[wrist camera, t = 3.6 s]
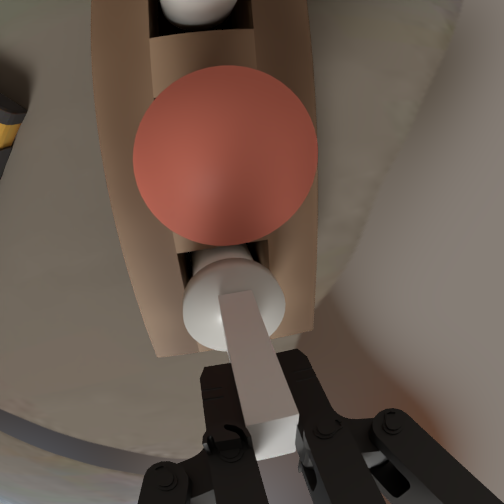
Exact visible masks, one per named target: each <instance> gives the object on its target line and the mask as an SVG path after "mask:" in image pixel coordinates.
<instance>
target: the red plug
mask: <svg viewBox="0 0 504 504" xmlns="http://www.w3.org/2000/svg"><path fill="white" fill-rule="evenodd" d="M317 162H318V145H317V137H316V133H315V128H314V126H313V123H312V120H311V118H310V116H309V114H308V112H307V110H306V108H305V106H304V105H303V104H302V102H301V101H300V99H299V98H298V97H297V96H296V95H295V94H294V93H293V92H292V91H291V90H290V89H289V88H288V87H287V86H286V85H284V84H283V83H282V82H281V81H279V80H277V79H276V78H274V77H272V76H271V75H268V74H266V73H264V72H261V71H259V70H255V69H252V68H248V67H242V66H234V65H223V66H214V67H208V68H204V69H201V70H197V71H194V72H192V73H190V74H187V75H185V76H183V77H181V78H180V79H178V80H177V81H175V82H173V83H172V84H171V85H169V86H168V87H167V88H166V89H165V90H163V91H162V92H161V93H160V94H159V95H158V96H157V98H156V99H155V100H154V101H153V102H152V104H151V105H150V106H149V108H148V109H147V111H146V112H145V114H144V116H143V118H142V120H141V122H140V125H139V127H138V130H137V133H136V137H135V142H134V148H133V168H134V175H135V179H136V183H137V186H138V189H139V191H140V194H141V196H142V198H143V200H144V202H145V203H146V205H147V207H148V208H149V209H150V211H151V212H152V213H153V215H154V216H155V217H156V218H157V219H158V220H159V221H160V222H161V223H162V224H163V225H165V226H166V227H167V228H169V229H170V230H171V231H173V232H175V233H176V234H178V235H180V236H182V237H184V238H186V239H189V240H191V241H194V242H198V243H202V244H207V245H214V246H230V245H239V244H243V243H248V242H251V241H254V240H257V239H259V238H262V237H264V236H266V235H268V234H270V233H271V232H273V231H274V230H276V229H278V228H279V227H280V226H282V225H283V224H284V223H285V222H287V221H288V220H289V219H290V218H291V217H292V216H293V215H294V214H295V212H296V211H297V210H298V209H299V207H300V206H301V205H302V203H303V202H304V200H305V198H306V197H307V195H308V193H309V191H310V188H311V186H312V184H313V180H314V177H315V174H316V168H317Z"/></svg>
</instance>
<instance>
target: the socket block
mask: <svg viewBox="0 0 504 504" xmlns="http://www.w3.org/2000/svg"><path fill="white" fill-rule="evenodd" d="M159 1H160V0H92V1H91V57H92V76H93V89H94V100H95V110H96V119H97V127H98V134H99V141H100V148H101V154H102V161H103V166H104V172H105V177H106V183H107V188H108V193H109V198H110V202H111V207H112V211H113V216H114V220H115V224H116V229H117V233H118V237H119V241H120V244H121V248H122V252H123V256H124V259H125V263H126V266H127V270H128V273H129V277H130V280H131V283H132V287H133V290H134V293H135V296H136V299H137V302H138V305H139V308H140V311H141V314H142V317H143V320H144V323H145V326H146V329H147V332H148V334H149V337H150V340H151V342H152V345H153V348H154V350H155V353H156V356H157V358H160V357H168V356H176V355H183V354H190V353H197V352H204V351H210V350H214V349H211V348H208V347H206V346H204V345H202V344H200V343H199V342H197V341H196V340H195V339H194V338H193V337H192V336H191V335H190V334H189V332H188V331H187V329H186V327H185V324H184V320H183V294H184V291H185V288H186V286H187V284H188V282H189V281H190V279H191V278H192V277H193V273H191V274H189V269H188V264H187V258H186V253H185V252H190V251H196V250H203V249H209V248H216V247H222V246H214V245H207V244H202V243H198V242H194V241H191V240H189V239H186V238H184V237H182V236H180V235H178V234H176V233H175V232H173V231H171V230H170V229H169V228H167V227H166V226H165V225H163V224H162V223H161V222H160V221H159V220H158V219H157V218H156V217H155V216H154V215H153V213H152V212H151V211H150V209H149V208H148V207H147V205H146V203H145V202H144V200H143V198H142V196H141V194H140V191H139V189H138V186H137V183H136V179H135V175H134V168H133V148H134V142H135V137H136V133H137V130H138V127H139V125H140V122H141V120H142V118H143V116H144V114H145V112H146V111H147V109H148V108H149V106H150V105H151V104H152V102H153V101H154V100H155V99H156V98H157V96H158V95H159V94H160V93H161V92H162V91H163V90H165V89H166V88H167V87H168V86H169V85H171V84H172V83H173V82H175V81H177V80H178V79H180V78H181V77H183V76H185V75H187V74H190V73H192V72H194V71H197V70H201V69H204V68H208V67H214V66H223V65H234V66H242V67H248V68H252V69H255V70H259V71H261V72H264V73H266V74H268V75H271V76H272V77H274V78H276V79H277V80H279V81H281V82H282V83H283V84H284V85H286V86H287V87H288V88H289V89H290V90H291V91H292V92H293V93H294V94H295V95H296V96H297V97H298V98H299V99H300V101H301V102H302V104H303V105H304V106H305V108H306V110H307V112H308V114H309V116H310V118H311V120H312V123H313V126H314V128H315V133H316V137H317V125H316V103H315V86H314V71H313V58H312V46H311V35H310V26H309V16H308V8H307V0H237V2H236V4H235V6H234V8H233V10H232V12H231V25H232V29H230V30H213V31H201V32H191V33H182V34H174V35H167V36H161V37H159V23H158V2H159ZM317 228H318V162H317V168H316V174H315V177H314V180H313V184H312V186H311V188H310V191H309V193H308V195H307V197H306V198H305V200H304V202H303V203H302V205H301V206H300V207H299V209H298V210H297V211H296V212H295V214H294V215H293V216H292V217H291V218H290V219H289V220H288V221H287V222H285V223H284V224H283V225H282V226H280V227H279V228H278V229H276V230H274V231H273V232H271V233H270V234H268V235H266V236H264V237H262V238H259V239H257V240H254V241H251V242H249V250H250V254H251V256H252V258H253V260H254V261H255V262H258V263H260V264H262V265H263V266H265V267H266V268H267V269H268V270H269V271H270V272H271V273H272V274H273V275H274V277H275V278H276V280H277V282H278V284H279V286H280V288H281V290H282V292H283V294H284V298H285V313H284V316H283V319H282V321H281V323H280V325H279V326H278V328H277V329H276V330H275V332H274V333H273V334H272V335H271V336H269V337H270V339H275V338H280V337H284V336H289V335H294V334H298V333H302V332H307V331H311V330H313V322H314V321H313V320H314V306H315V287H316V264H317Z"/></svg>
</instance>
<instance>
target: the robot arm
mask: <svg viewBox="0 0 504 504" xmlns="http://www.w3.org/2000/svg"><path fill="white" fill-rule="evenodd" d="M218 301H219V307H220V313H221V319H222V325H223V331H224V337H225V342H226V347H227V352H228V357H229V361H230V363H227V364H221V365H215V366H208V367H204V369H203V372H202V374H201V377H200V383H201V391H202V400H203V408H204V416H205V423H206V432H205V434H204V435H203V441H202V444H203V446H204V448H203V450H202V451H201V452H200V453H199V454H198V455H196V456H194V457H192V458H190V459H188V460H185V461H183V462H180V463H178V464H176V463H173V462H170V461H166V462H159V463H156V464H154V465H152V466H151V467H150V468H149V469H148V470H147V472H146V474H145V476H144V479H143V483H142V487H141V492H140V496H139V500H138V504H269V503H268V499H267V496H266V493H265V489H264V485H263V482H262V478H261V475H260V471H259V467H258V464H257V460H262V459H267V458H271V457H276V456H280V455H284V454H288V453H292V452H295V450H296V449H297V452H298V454H299V457H300V459H299V465H298V472H299V473H300V472H302V473H303V476H304V479H305V481H306V484H307V487H308V490H309V492H310V495H311V498H312V501H313V504H386V503H385V501H384V498H383V496H382V495H381V493H382V494H383V495H384V496H385V497H386V498H387V499H388V501H389V502H390V503H391V504H504V503H503V502H502V501H501V500H500V499H498V498H497V497H496V496H495V495H494V494H493V493H492V492H491V491H490V490H489V489H487V488H486V487H485V486H484V485H483V484H482V483H481V482H480V481H479V480H478V479H476V478H475V477H474V476H473V475H472V474H471V473H470V472H469V471H468V470H467V469H466V468H465V467H463V466H462V465H461V464H460V463H459V462H458V461H457V460H456V459H455V458H454V457H453V456H451V455H450V454H449V453H448V452H447V451H446V450H445V449H444V448H443V447H442V446H441V445H440V444H439V443H437V442H436V441H435V440H434V439H433V438H432V437H431V436H430V435H429V434H428V433H427V432H426V431H425V430H423V428H421V427H420V426H419V425H418V424H417V423H416V422H415V421H414V420H413V419H412V418H411V417H410V416H409V415H408V414H406V413H405V412H403V411H402V410H399V409H394V408H391V409H385V410H383V411H381V412H379V413H378V414H377V415H376V416H375V418H368V419H348V418H345V417H342V416H340V415H339V414H337V413H336V412H335V411H334V410H333V408H332V407H331V405H330V403H329V401H328V399H327V397H326V394H325V392H324V391H323V389H322V386H321V384H320V382H319V380H318V378H317V377H316V374H315V372H314V370H313V369H312V366H311V364H310V362H309V360H308V358H307V356H306V355H304V354H303V353H302V352H301V351H300V350H298V349H293V350H289V351H284V352H280V353H275V350H274V348H273V345H272V343H271V340H270V337H269V335H268V332H267V330H266V327H265V324H264V322H263V319H262V316H261V314H260V311H259V309H258V306H257V303H256V301H255V298H254V295H253V293H252V290H248V291H242V292H236V293H230V294H224V295H218Z"/></svg>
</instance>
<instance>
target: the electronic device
mask: <svg viewBox="0 0 504 504" xmlns="http://www.w3.org/2000/svg"><path fill="white" fill-rule="evenodd" d="M26 113H27V111H26V109H24V108H23V107H21V106H20V105H18V104H17V103H15V102H13V101H12V100H10V99H9V98H7V97H6V96H4V95H3V94H1V93H0V179H1V176H2V174H3V171H4V168H5V165H6V163H7V160H8V158H9V155H10V153H11V150H12V147H11V145H12V143H13V140H14V138H15V136H16V134H17V131H18V129H19V127H20V125H21V123H22V121H23V119H24V117H25V115H26Z"/></svg>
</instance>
